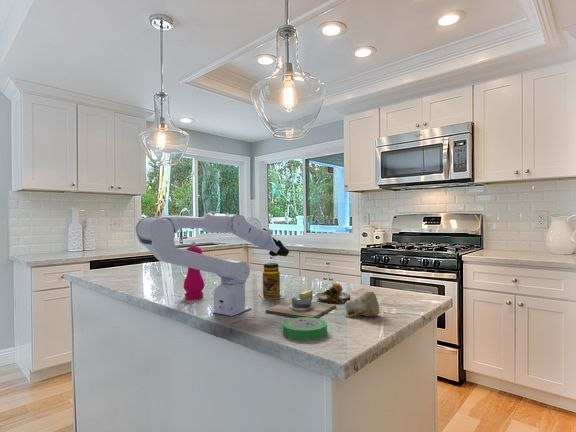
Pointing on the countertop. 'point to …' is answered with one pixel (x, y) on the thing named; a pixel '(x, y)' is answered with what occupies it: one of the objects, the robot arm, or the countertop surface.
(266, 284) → the condiment
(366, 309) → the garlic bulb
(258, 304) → the countertop surface
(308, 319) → the tape roll
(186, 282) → the pepper mill
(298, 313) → the post base
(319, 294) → the plate of food
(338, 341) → the countertop surface
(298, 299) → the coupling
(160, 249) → the robot arm
